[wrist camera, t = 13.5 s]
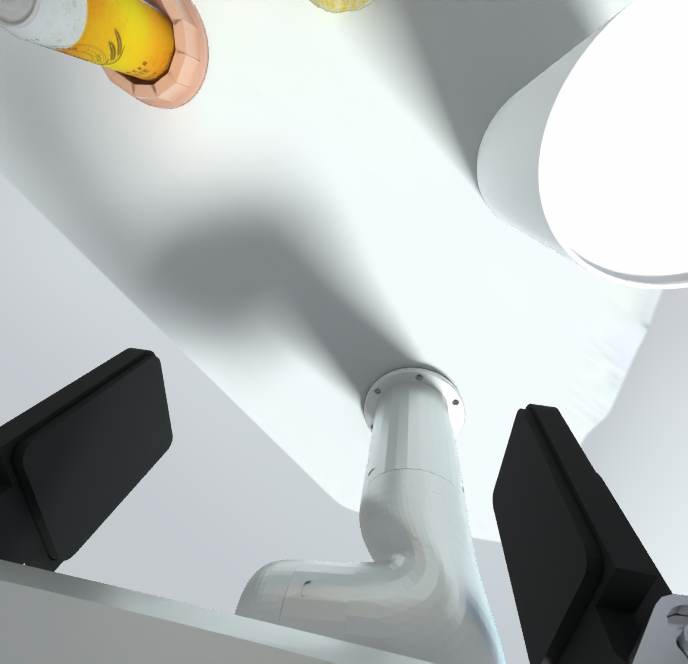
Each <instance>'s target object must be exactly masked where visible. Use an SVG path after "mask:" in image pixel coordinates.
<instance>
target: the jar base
mask: <svg viewBox="0 0 688 664" xmlns="http://www.w3.org/2000/svg"><path fill="white" fill-rule="evenodd" d="M146 1H147V2H149V3H150V4H152V5H153V6H155V7H157V8H158V9H159V10H161V11H162V12H163V13H164V14H165V15H166V16H167V17H168V19H169V20H170V22H171V24H172V25H173V28H174V37H175V47H176V51H175V54H174V57H173V60H172V63H171V66H170V69H169V72H168V74H166V75H165V76H164V77H163V78H161V79H160V80H159V81H158V82H149V81H146V80H143V79H140V78H137V77H134V76H131V75H128V74H125V73H122V72H119V71H116V70H113V69H110V68H107V67H104V66H102V68H103V69H104V71H105V73H106V74H107V76H108V78H109V79H110V81H112V82H113V83H114V84H116V85H117V86H119V87H120V88H122V89H123V90H124V91H126V92H127V93H129V94H130V95H132V96H133V97H135V98H137V99H138V100H140V101H141V102H143V103H145V104H148V105H150V106H154V107H158V108H164V109H172V108H177V107H180V106H182V105H184V104H186V103H188V102H189V101H190V100H191V99H192V98H194V96H195V95H196V94H197V93H198V91H199V90H200V88H201V86H202V84H203V82H204V79H205V76H206V73H207V68H208V59H209V49H208V40H207V35H206V31H205V28H204V25H203V22H202V19H201V17H200V15H199V13H198V11H197V9H196V8H195V6H194V4H193V3H192V2H191V0H146Z"/></svg>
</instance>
